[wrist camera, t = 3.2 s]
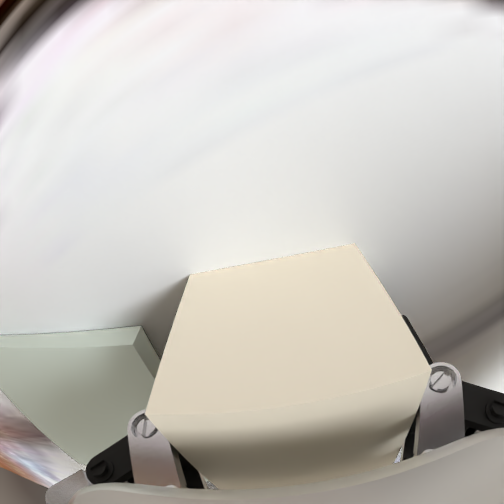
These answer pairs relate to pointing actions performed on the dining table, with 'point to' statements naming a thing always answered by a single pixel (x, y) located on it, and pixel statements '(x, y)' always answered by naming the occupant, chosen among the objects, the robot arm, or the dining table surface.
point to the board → (79, 384)
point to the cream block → (288, 372)
